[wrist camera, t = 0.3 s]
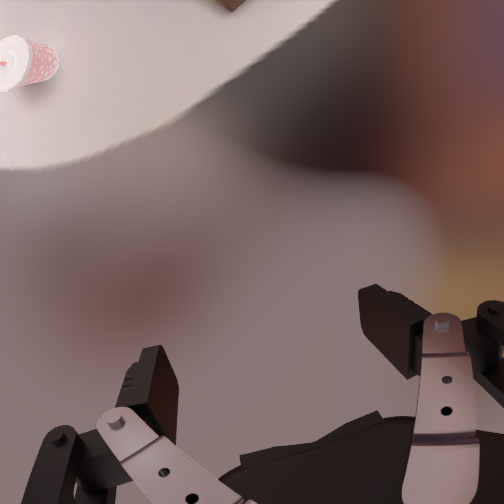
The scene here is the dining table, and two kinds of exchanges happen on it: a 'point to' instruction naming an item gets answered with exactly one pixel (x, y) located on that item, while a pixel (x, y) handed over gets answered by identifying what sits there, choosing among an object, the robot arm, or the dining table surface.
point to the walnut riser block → (231, 4)
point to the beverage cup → (25, 62)
